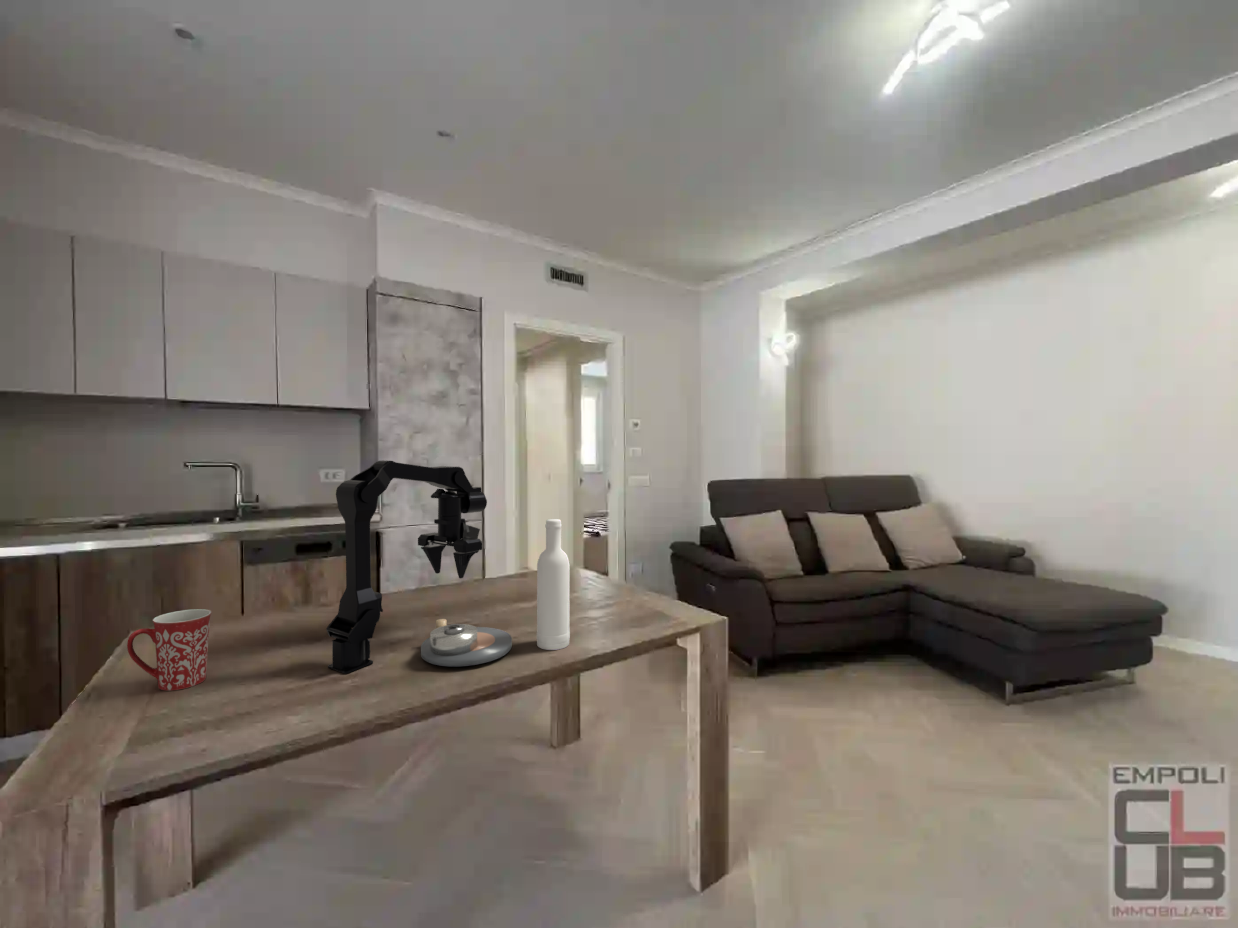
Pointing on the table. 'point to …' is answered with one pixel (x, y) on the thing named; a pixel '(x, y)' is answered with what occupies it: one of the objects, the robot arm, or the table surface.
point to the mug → (177, 648)
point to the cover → (453, 639)
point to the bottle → (553, 591)
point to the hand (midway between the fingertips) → (449, 575)
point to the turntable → (488, 649)
